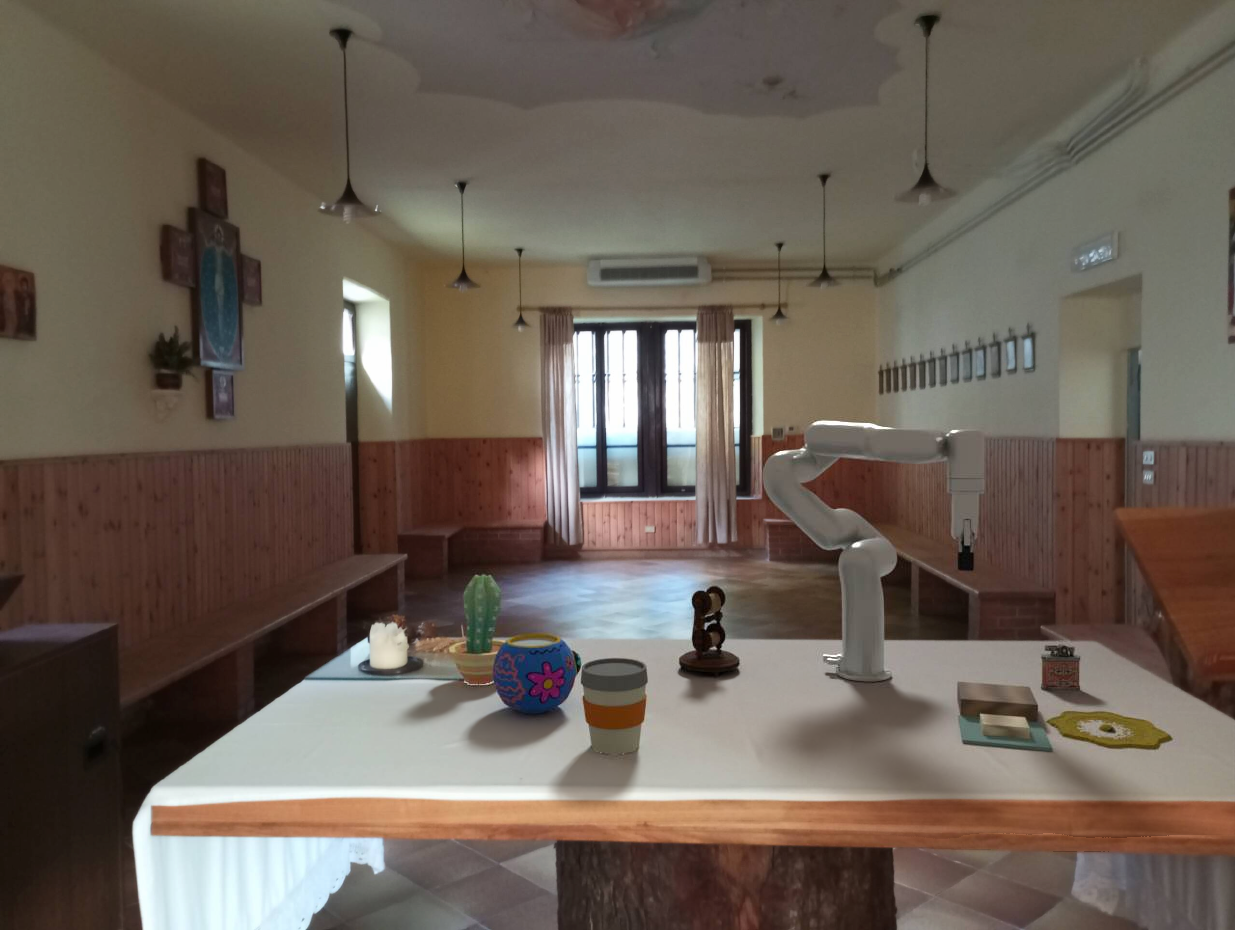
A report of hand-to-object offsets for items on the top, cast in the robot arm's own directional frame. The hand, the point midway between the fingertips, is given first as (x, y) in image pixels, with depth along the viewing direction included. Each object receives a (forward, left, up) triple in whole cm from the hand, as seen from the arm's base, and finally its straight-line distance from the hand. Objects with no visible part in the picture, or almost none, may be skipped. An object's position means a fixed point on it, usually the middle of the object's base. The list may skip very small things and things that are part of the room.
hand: (965, 569), depth 187 cm
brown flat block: (+5, -12, -27) cm, 30 cm away
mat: (+5, -25, -27) cm, 37 cm away
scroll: (-58, +3, -27) cm, 64 cm away
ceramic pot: (-87, -36, -27) cm, 98 cm away
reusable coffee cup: (-64, -51, -27) cm, 86 cm away
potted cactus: (-108, -20, -27) cm, 113 cm away
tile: (+5, -25, -24) cm, 35 cm away
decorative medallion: (+24, -17, -28) cm, 41 cm away
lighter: (+20, +8, -27) cm, 35 cm away
